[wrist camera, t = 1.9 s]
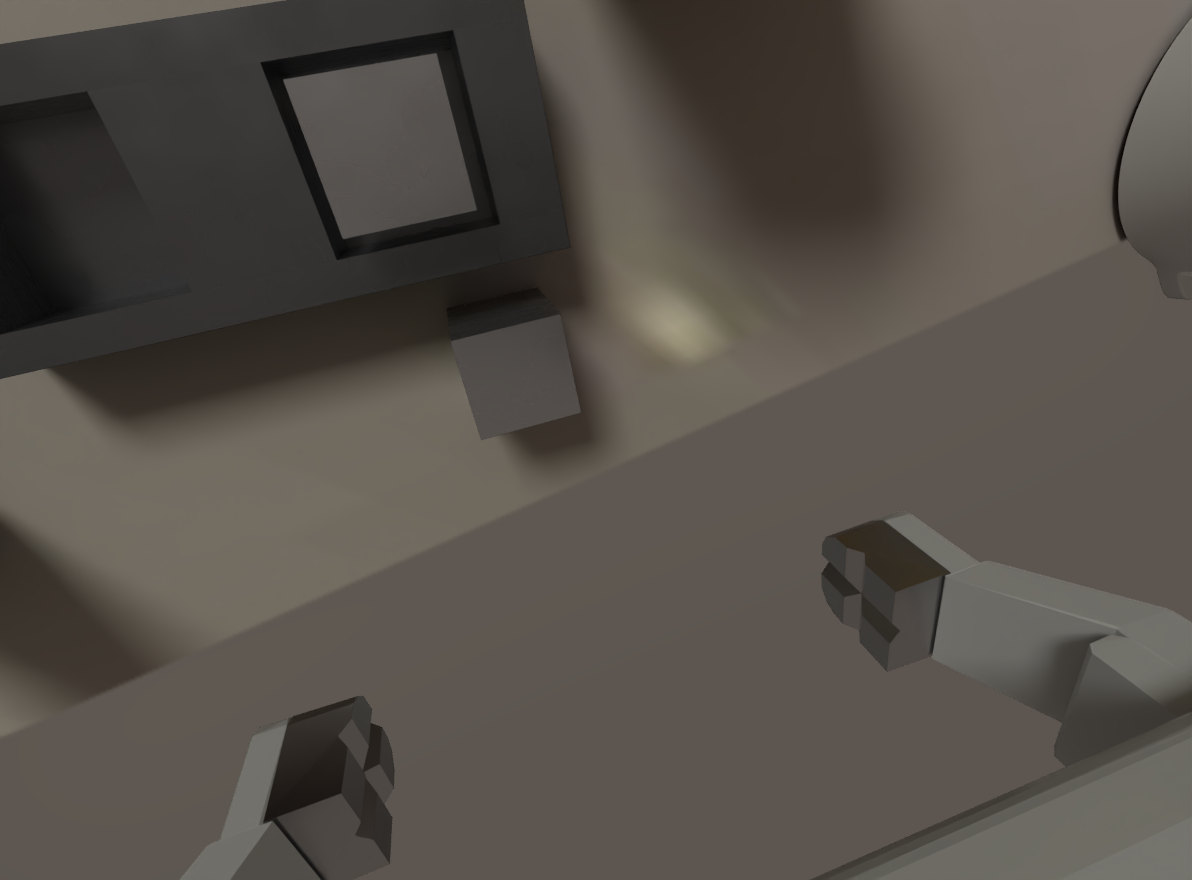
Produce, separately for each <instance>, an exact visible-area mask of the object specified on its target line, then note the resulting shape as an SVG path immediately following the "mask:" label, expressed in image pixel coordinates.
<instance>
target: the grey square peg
mask: <svg viewBox="0 0 1192 880" xmlns="http://www.w3.org/2000/svg"><path fill="white" fill-rule="evenodd" d="M283 81H284V84H285V86H286V89H287V92H288V94H289V97H290V100H291V102H292V105H293V108H294V110H295V113H296V116H297V118H298V121H299V124H300V126H301V129H302V132H303V134H304V137H305V140H306V142H307V145H308V148H309V150H310V153H311V156H312V158H313V161H314V164H315V166H316V169H317V172H318V174H319V177H320V180H321V182H322V185H323V188H324V190H325V193H326V196H327V198H328V201H329V204H330V206H331V209H332V212H333V214H334V217H335V219H336V222H337V225H338V227H339V230H340V233H341V235H342V238H343V239H346V238H350V237H355V236H360V235H364V234H369V233H374V232H378V231H383V230H387V229H392V228H397V227H401V226H406V225H411V224H415V223H420V222H425V221H429V220H434V219H438V218H443V217H448V216H452V215H457V214H462V213H466V212H471V211H476V210H477V208H476V204H475V200H474V196H473V193H472V189H471V185H470V181H469V177H468V173H467V169H466V166H465V162H464V158H463V154H462V150H461V146H460V142H459V139H458V135H457V131H456V127H455V123H454V119H453V115H452V112H451V108H450V104H449V100H448V96H447V92H446V88H445V85H444V81H443V77H442V73H441V69H440V65H439V61H438V57H437V54H436V53H434V54H429V55H423V56H417V57H411V58H405V59H400V60H394V61H388V62H382V63H376V64H371V65H365V66H359V67H353V68H347V69H342V70H336V71H330V72H324V73H318V74H313V75H307V76H301V77H295V78H290V79H284V80H283Z"/></svg>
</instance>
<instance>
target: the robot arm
mask: <svg viewBox="0 0 1192 880" xmlns="http://www.w3.org/2000/svg"><path fill="white" fill-rule="evenodd" d="M1118 203H1119V213H1120V219H1121V223H1122V226H1123V229H1124V232H1125V234H1126V237H1127V239H1128V240H1129V242H1130V243H1131V245H1132V246H1133V247H1134V249H1135V250H1136V251H1137V252H1138V253H1140V254H1141V255H1142V256H1144V257H1145V258H1146V259H1148V260H1149V261H1150V262H1151V263H1152V264H1153V265H1154V266H1155V267H1156V268H1157V273H1158V277H1159V280H1160V285H1161V288H1162V290H1163V292H1164V294H1165V295H1166V296H1167V297H1168V298H1176V299H1192V18H1191V19H1190V20H1189V22H1188V23H1187V24H1186V25H1185V27H1184V28H1183V29H1182V31H1181V32H1180V34H1179V35H1178V36H1177V38H1176V39H1175V41H1174V42H1173V44H1172V45H1171V47H1170V48H1169V50H1168V51H1167V53H1166V54H1165V56H1164V58H1163V59H1162V61H1161V62H1160V64H1159V66H1158V68H1157V70H1156V71H1155V73H1154V75H1153V77H1152V79H1151V81H1150V83H1149V85H1148V87H1147V89H1146V91H1145V93H1144V95H1143V97H1142V99H1141V102H1140V104H1139V107H1138V109H1137V111H1136V114H1135V117H1134V119H1133V122H1132V125H1131V128H1130V131H1129V134H1128V137H1127V141H1126V145H1125V148H1124V153H1123V157H1122V162H1121V168H1120V176H1119V187H1118ZM822 555H823V556H824V557H825V558H826V559H827V560H828V561H829V563H828V564H827V566H826V568H825V569H824V570H823V572H822V589H823V592H824V595H825V598H826V601H827V603H828V605H829V606H830V608H831V609H832V611H833V613H834V614H835V615H836V616H837V617H838V618H839V620H840V621H841V622H842V623H843V624H845V625H848V626H850V627H853V628H856V629H858V630H859V632H860V633H859V634H860V643H861V644H862V645H863V646H864V647H865V648H866V649H867V650H868V651H869V653H870V654H871V655H872V656H873V657H874V658H875V659H876V660H877V661H878V662H879V663H880V665H881V666H882V667H883V668H884V669H885V670H886V671H890V670H893V669H896V668H898V667H901V666H904V665H907V664H910V663H913V662H916V661H919V660H921V659H924V658H927V657H930V656H932V659H934V660H936V661H938V662H940V663H942V664H944V665H946V666H948V667H950V668H952V669H954V670H956V671H958V672H960V673H962V674H964V675H966V676H968V677H970V678H972V679H974V680H977V681H978V682H981V683H983V684H985V685H987V686H989V687H991V688H993V689H995V690H997V691H999V692H1001V693H1003V694H1005V695H1007V696H1009V697H1011V698H1013V699H1015V700H1017V701H1019V702H1021V703H1023V704H1025V705H1027V706H1029V707H1031V708H1033V709H1035V710H1037V711H1039V712H1041V713H1043V714H1045V715H1047V716H1050V717H1052V718H1054V719H1056V720H1058V721H1060V722H1062V725H1061V728H1060V731H1059V733H1058V736H1057V739H1056V742H1055V745H1054V755H1055V757H1056V758H1057V759H1058V760H1059V761H1060V762H1061V763H1062V764H1063V765H1065V766H1066V767H1065V768H1062V769H1060V770H1058V771H1056V772H1053V773H1051V774H1049V775H1047V776H1044V777H1042V778H1040V779H1038V780H1035V781H1033V782H1031V783H1029V784H1026V785H1024V786H1022V787H1019V788H1017V789H1015V790H1012V791H1010V792H1008V793H1006V794H1003V795H1001V796H999V797H997V798H994V799H992V800H990V801H987V802H985V803H983V804H981V805H978V806H976V807H974V808H972V809H970V810H967V811H965V812H963V813H960V814H958V815H956V816H953V817H951V818H949V819H947V820H944V821H942V822H940V823H938V824H935V825H933V826H931V827H929V828H927V829H924V830H922V831H920V832H917V833H915V834H913V835H910V836H908V837H906V838H904V839H901V840H899V841H897V842H894V843H892V844H890V845H888V846H885V847H883V848H881V849H879V850H877V851H874V852H872V853H870V854H867V855H865V856H863V857H860V858H858V859H856V860H854V861H851V862H849V863H847V864H845V865H842V866H840V867H838V868H836V869H833V870H831V871H829V872H827V873H824V874H822V875H820V876H817V877H815V878H813V879H811V880H1192V622H1190V621H1188V620H1186V619H1185V618H1183V617H1182V616H1180V615H1178V614H1177V613H1175V612H1173V611H1172V610H1170V609H1167V608H1163V607H1159V606H1155V605H1152V604H1148V603H1144V602H1141V601H1137V600H1133V599H1129V598H1126V597H1122V596H1118V595H1114V594H1111V593H1107V592H1103V591H1099V590H1096V589H1092V588H1088V587H1084V586H1081V585H1077V584H1073V583H1069V582H1066V581H1062V580H1058V579H1054V578H1051V577H1047V576H1044V575H1040V574H1036V573H1032V572H1029V571H1025V570H1021V569H1017V568H1014V567H1010V566H1006V565H1002V564H998V563H995V562H991V561H985V562H982V563H979V562H978V561H976V560H975V559H973V558H972V557H971V556H969V555H968V554H966V553H965V552H964V551H962V550H961V549H959V548H958V547H957V546H955V545H954V544H952V543H951V542H949V541H948V540H947V539H945V538H944V537H943V536H941V535H940V534H938V533H937V532H935V531H934V530H932V529H931V528H930V527H929V526H927V525H926V524H924V523H923V522H921V521H920V520H919V519H917V518H916V517H914V516H913V515H912V514H910V513H908V512H904V511H898V512H895V513H892V514H890V515H887V516H884V517H881V518H878V519H876V520H874V521H869V522H866V523H864V524H861V525H858V526H855V527H852V528H849V529H847V530H844V531H841V532H838V533H836V534H832V535H830V536H827V537H826V538H825V540H824V541H823V544H822ZM371 715H372V709H371V707H370V705H369V704H368V702H367V701H366V699H365V698H364V696H356V697H353V698H350V699H347V700H343V701H340V702H337V703H334V704H331V705H327V706H324V707H321V708H318V709H315V710H311V711H308V712H305V713H302V714H299V715H296V716H293V717H291V718H288V719H285V720H282V721H279V722H275V723H272V724H269V725H266V726H263V727H260V728H259V729H258V730H257V731H256V733H255V734H254V735H253V736H252V738H251V741H250V744H249V747H248V751H247V754H246V757H245V760H244V763H243V767H242V770H241V773H240V776H239V780H238V783H237V786H236V789H235V792H234V796H233V799H232V802H231V805H230V808H229V812H228V815H227V818H226V821H225V825H224V828H223V831H222V834H221V837H220V840H218V841H216V842H213V843H210V844H208V845H207V847H206V848H205V849H204V850H203V852H202V853H201V854H200V855H199V857H198V858H197V859H196V860H195V861H194V863H193V864H192V865H191V866H190V868H189V869H188V870H187V871H186V873H185V874H184V875H183V876H182V878H181V879H180V880H353V879H356V878H358V877H360V876H363V875H365V874H368V873H370V872H372V871H375V870H377V869H379V868H382V867H384V866H386V865H389V864H390V852H391V851H390V850H391V833H392V816H391V814H390V813H389V811H388V810H387V808H386V806H385V805H384V804H385V802H386V801H387V799H388V798H389V796H390V794H391V793H392V791H393V789H394V771H395V770H394V763H393V755H392V749H391V746H390V743H389V740H388V737H387V735H386V733H385V731H384V730H383V728H382V727H380V726H378V725H375V724H372V723H371Z"/></svg>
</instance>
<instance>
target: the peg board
mask: <svg viewBox="0 0 1192 880" xmlns="http://www.w3.org/2000/svg"><path fill="white" fill-rule="evenodd" d="M434 53H436V54H437V57H438V61H439V65H440V69H441V73H442V77H443V81H444V85H445V88H446V92H447V96H448V100H449V104H450V108H451V112H452V115H453V119H454V123H455V127H456V131H457V135H458V139H459V142H460V146H461V150H462V154H463V158H464V162H465V166H466V169H467V173H468V177H469V181H470V185H471V189H472V193H473V196H474V200H475V204H476V208H477V210H476V211H471V212H466V213H462V214H457V215H452V216H448V217H443V218H438V219H434V220H429V221H425V222H420V223H415V224H411V225H406V226H401V227H397V228H392V229H387V230H383V231H378V232H374V233H369V234H364V235H360V236H355V237H350V238H346V239H343V238H342V235H341V233H340V230H339V227H338V225H337V222H336V219H335V217H334V214H333V212H332V209H331V206H330V204H329V201H328V198H327V196H326V193H325V190H324V188H323V185H322V182H321V180H320V177H319V174H318V172H317V169H316V166H315V164H314V161H313V158H312V156H311V153H310V150H309V148H308V145H307V142H306V140H305V137H304V134H303V132H302V129H301V126H300V124H299V121H298V118H297V116H296V113H295V110H294V108H293V105H292V102H291V100H290V97H289V94H288V92H287V89H286V86H285V84H284V81H283V80H284V79H290V78H295V77H301V76H307V75H313V74H318V73H324V72H330V71H336V70H342V69H347V68H353V67H359V66H365V65H371V64H376V63H382V62H388V61H394V60H400V59H405V58H411V57H417V56H423V55H429V54H434ZM569 247H570V242H569V236H568V231H567V226H566V221H565V215H564V210H563V205H562V199H561V194H560V189H559V184H558V178H557V173H556V168H555V163H554V157H553V152H552V147H551V141H550V136H549V131H548V126H547V120H546V115H545V110H544V105H543V99H542V94H541V89H540V83H539V78H538V73H537V68H536V62H535V57H534V52H533V46H532V41H531V36H530V31H529V25H528V20H527V15H526V10H525V4H524V0H286V1H279V2H273V3H266V4H260V5H253V6H247V7H240V8H234V9H227V10H221V11H214V12H208V13H201V14H194V15H188V16H181V17H175V18H168V19H162V20H155V21H149V22H142V23H136V24H129V25H123V26H116V27H110V28H103V29H96V30H90V31H83V32H77V33H70V34H64V35H57V36H51V37H44V38H38V39H31V40H25V41H18V42H11V43H5V44H0V379H2V378H7V377H11V376H15V375H20V374H24V373H28V372H33V371H37V370H41V369H45V368H50V367H54V366H58V365H63V364H67V363H71V362H76V361H80V360H84V359H89V358H93V357H97V356H102V355H106V354H110V353H115V352H119V351H123V350H128V349H132V348H136V347H141V346H145V345H149V344H154V343H158V342H162V341H167V340H171V339H175V338H180V337H184V336H188V335H193V334H197V333H201V332H206V331H210V330H214V329H219V328H223V327H227V326H232V325H236V324H240V323H245V322H249V321H253V320H258V319H262V318H266V317H271V316H275V315H279V314H284V313H288V312H292V311H297V310H301V309H305V308H310V307H314V306H318V305H323V304H327V303H331V302H336V301H340V300H344V299H349V298H353V297H357V296H362V295H366V294H370V293H375V292H379V291H383V290H388V289H392V288H396V287H401V286H405V285H409V284H414V283H418V282H422V281H427V280H431V279H435V278H440V277H444V276H448V275H453V274H457V273H461V272H466V271H470V270H474V269H479V268H483V267H487V266H492V265H496V264H500V263H505V262H509V261H513V260H518V259H522V258H526V257H530V256H535V255H539V254H543V253H548V252H552V251H556V250H561V249H565V248H569Z"/></svg>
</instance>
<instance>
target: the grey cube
mask: <svg viewBox="0 0 1192 880" xmlns="http://www.w3.org/2000/svg"><path fill="white" fill-rule="evenodd" d="M447 317H448V326H449V335H450V342H451V345H452V349H453V352H454V355H455V358H456V361H457V365H458V368H459V371H460V374H461V377H462V381H463V384H464V387H465V390H466V393H467V397H468V400H469V403H470V406H471V409H472V413H473V416H474V419H475V422H476V425H477V429H478V432H479V435H480V438H481V440H484V439H487V438H491V437H494V436H498V435H502V434H505V433H509V432H513V431H516V430H520V429H523V428H527V427H531V426H534V425H538V424H542V423H545V422H549V421H552V420H556V419H560V418H563V417H567V416H570V415H574V414H578V413H581V410H580V405H579V401H578V396H577V391H576V386H575V381H574V377H573V372H572V367H571V362H570V357H569V353H568V348H567V343H566V338H565V334H564V329H563V324H562V319H561V314H560V313H559V312H558V311H557V309H556V308H555V307H554V306H553V305H552V304H551V302H550V301H549V300H548V299H547V298H546V297H545V295H544V294H543V293H542V292H541V291H540V289H539V288H538V287H536V288H532V289H528V290H524V291H520V292H515V293H511V294H507V295H503V296H499V297H494V298H490V299H486V300H482V301H478V302H473V303H469V304H465V305H461V306H457V307H453V308H448V309H447Z"/></svg>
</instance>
